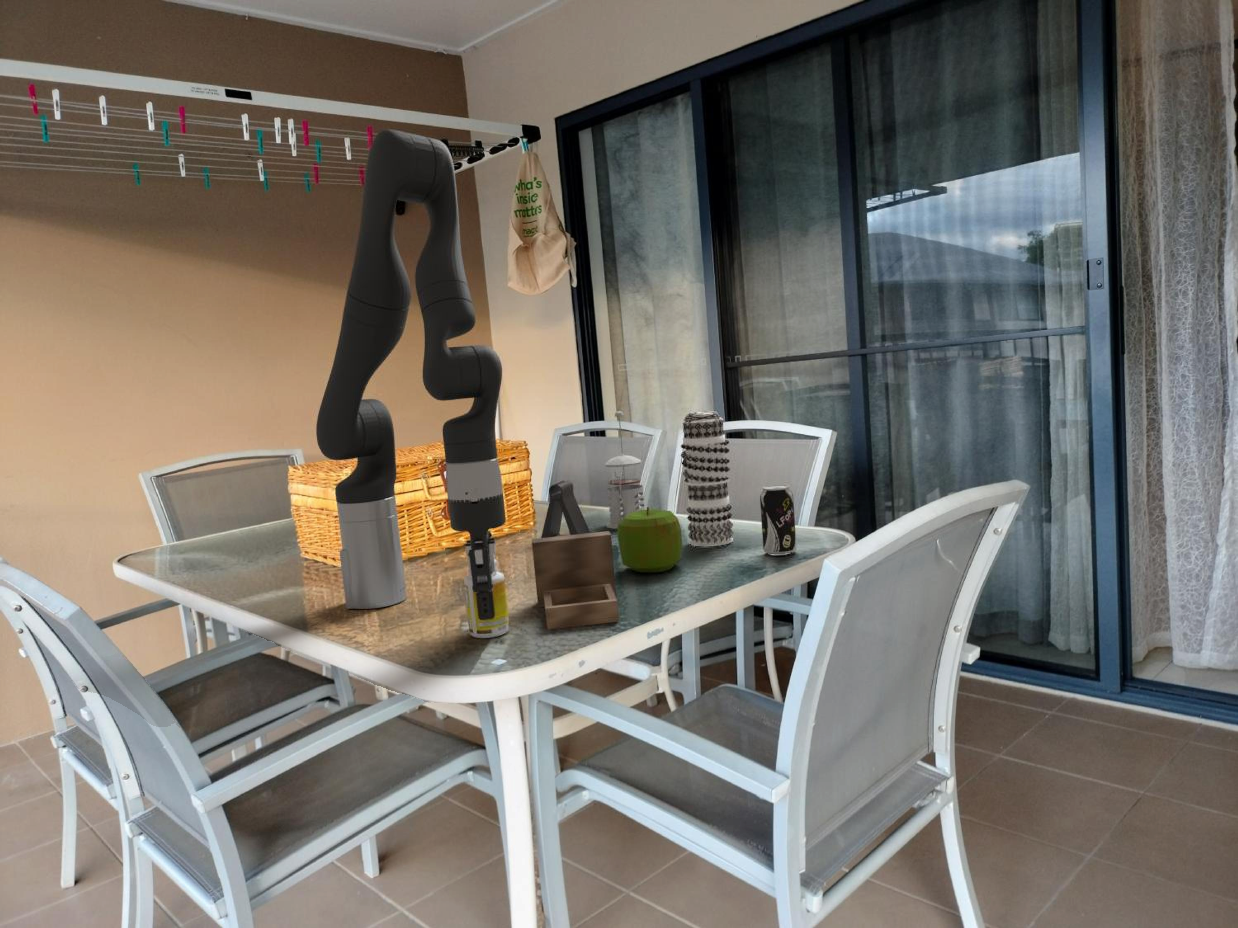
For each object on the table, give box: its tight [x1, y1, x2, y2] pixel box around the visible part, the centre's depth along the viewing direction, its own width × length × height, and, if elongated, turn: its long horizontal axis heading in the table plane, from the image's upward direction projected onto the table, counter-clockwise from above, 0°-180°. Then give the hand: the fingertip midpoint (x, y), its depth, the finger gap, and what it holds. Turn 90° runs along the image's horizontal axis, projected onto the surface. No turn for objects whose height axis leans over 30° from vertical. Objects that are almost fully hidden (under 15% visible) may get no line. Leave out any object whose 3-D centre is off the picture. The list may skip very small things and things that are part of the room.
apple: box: [616, 506, 683, 574], centre depth 154 cm, size 11×11×11 cm
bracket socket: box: [531, 530, 620, 631], centre depth 132 cm, size 12×15×10 cm
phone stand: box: [540, 480, 591, 538], centre depth 187 cm, size 9×6×12 cm, turn 70°
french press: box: [604, 410, 646, 530], centre depth 196 cm, size 10×12×25 cm
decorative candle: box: [680, 410, 734, 547], centre depth 171 cm, size 9×9×25 cm
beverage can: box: [759, 484, 797, 555], centre depth 158 cm, size 6×6×12 cm
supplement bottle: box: [463, 559, 510, 639], centre depth 125 cm, size 6×6×10 cm
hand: (487, 612), depth 125 cm, fingers closed on supplement bottle, 5 cm apart
